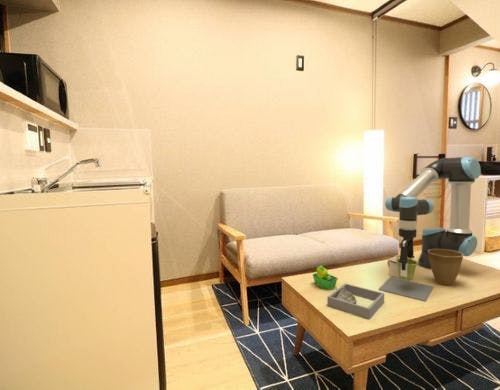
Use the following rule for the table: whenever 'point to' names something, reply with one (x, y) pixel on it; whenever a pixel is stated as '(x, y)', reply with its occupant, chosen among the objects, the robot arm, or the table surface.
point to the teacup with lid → (393, 266)
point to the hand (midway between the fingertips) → (406, 273)
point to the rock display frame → (355, 308)
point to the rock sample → (346, 296)
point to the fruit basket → (324, 278)
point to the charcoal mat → (407, 288)
